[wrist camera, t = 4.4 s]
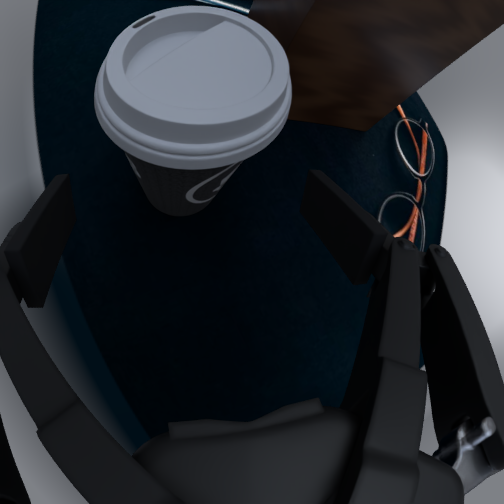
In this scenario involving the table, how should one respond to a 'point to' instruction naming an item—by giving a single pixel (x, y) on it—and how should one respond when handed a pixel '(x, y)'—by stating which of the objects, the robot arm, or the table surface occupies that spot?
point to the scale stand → (369, 50)
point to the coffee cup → (192, 100)
